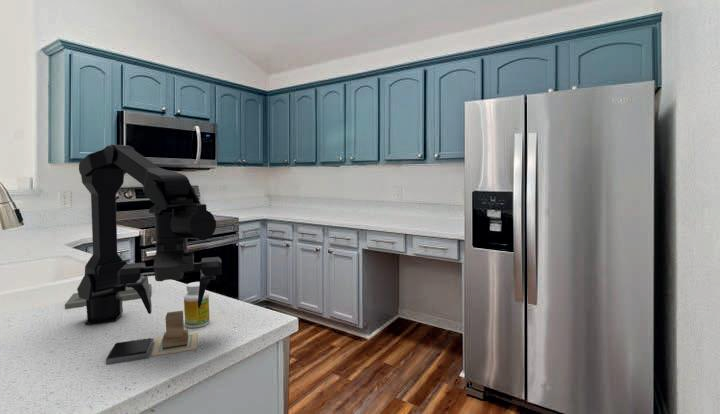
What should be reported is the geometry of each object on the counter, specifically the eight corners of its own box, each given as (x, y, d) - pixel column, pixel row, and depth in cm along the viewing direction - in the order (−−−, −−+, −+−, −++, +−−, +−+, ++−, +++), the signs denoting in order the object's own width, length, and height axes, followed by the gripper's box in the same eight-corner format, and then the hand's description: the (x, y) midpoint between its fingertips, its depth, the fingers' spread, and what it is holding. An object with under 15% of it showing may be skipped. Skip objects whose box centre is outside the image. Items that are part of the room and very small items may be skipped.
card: (151, 356, 74) (151, 354, 74) (157, 339, 81) (157, 337, 81) (196, 349, 76) (195, 347, 76) (197, 333, 84) (197, 332, 84)
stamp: (165, 340, 80) (163, 311, 79) (188, 337, 81) (187, 308, 81) (162, 349, 76) (160, 319, 75) (186, 345, 77) (185, 316, 77)
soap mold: (72, 300, 108) (72, 288, 108) (151, 289, 118) (151, 279, 117) (65, 311, 99) (64, 298, 99) (151, 299, 109) (150, 287, 108)
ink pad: (106, 364, 70) (105, 357, 70) (115, 348, 77) (114, 342, 77) (148, 357, 73) (147, 351, 73) (153, 342, 79) (153, 336, 79)
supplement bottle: (200, 329, 86) (198, 288, 85) (179, 327, 87) (177, 286, 87) (214, 320, 92) (212, 281, 91) (194, 318, 93) (192, 280, 92)
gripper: (107, 246, 66) (112, 332, 67) (220, 239, 72) (223, 317, 74) (121, 236, 76) (126, 311, 77) (220, 231, 83) (222, 300, 84)
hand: (175, 310), depth 78 cm, fingers open, 9 cm apart
